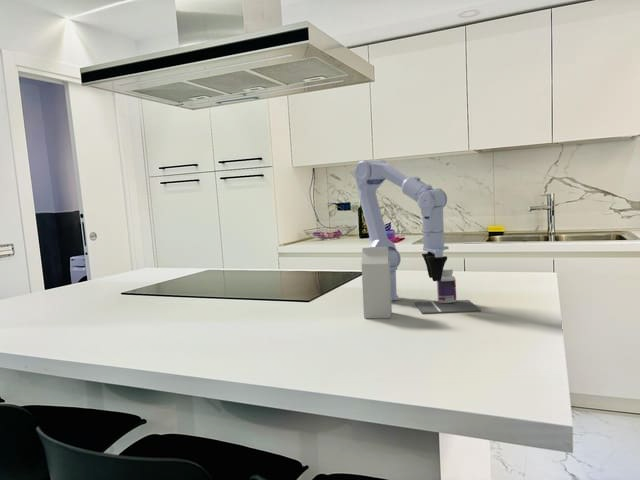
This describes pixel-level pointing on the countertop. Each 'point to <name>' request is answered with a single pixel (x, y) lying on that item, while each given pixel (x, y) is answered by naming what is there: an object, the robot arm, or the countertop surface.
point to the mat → (446, 307)
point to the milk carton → (376, 282)
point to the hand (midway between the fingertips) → (434, 279)
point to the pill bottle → (446, 287)
